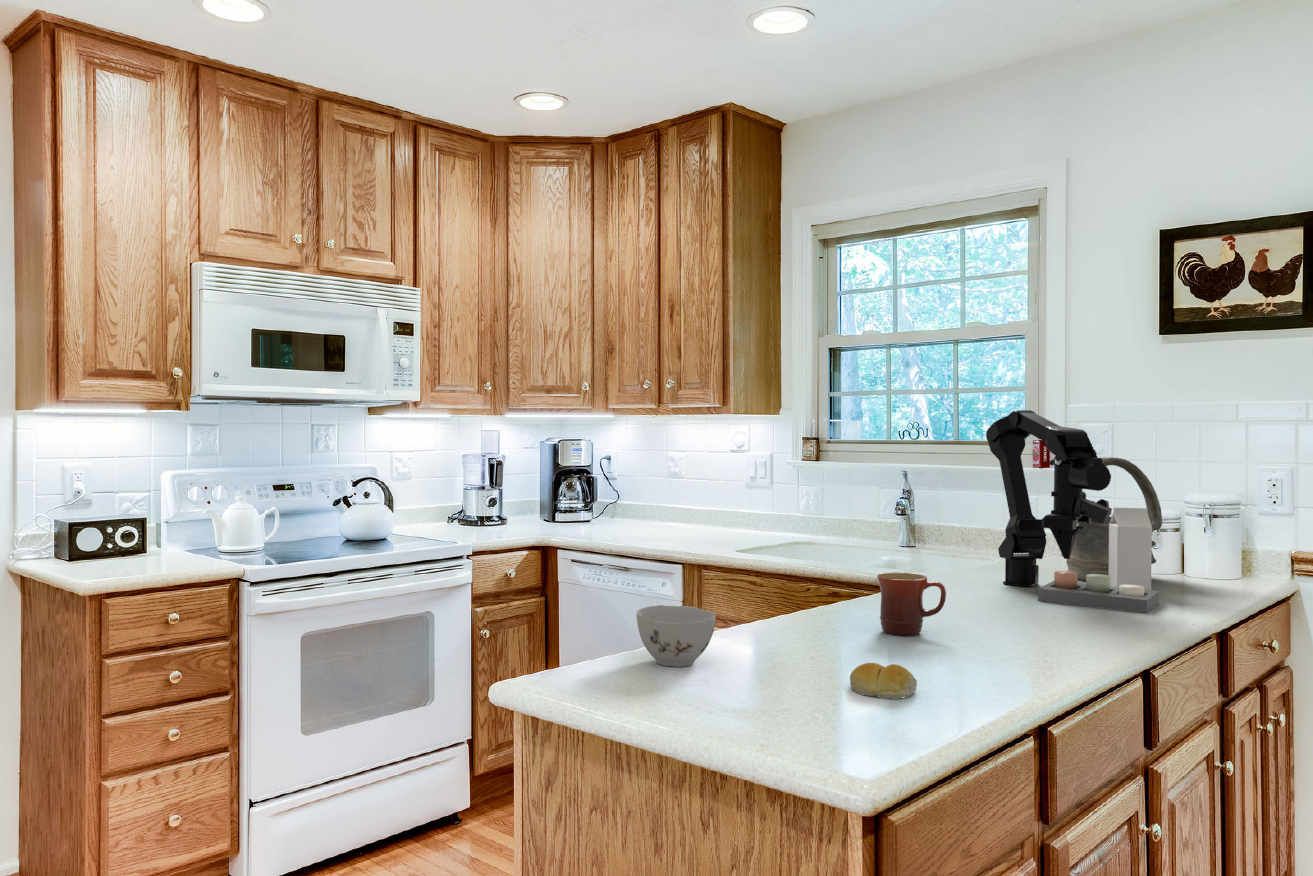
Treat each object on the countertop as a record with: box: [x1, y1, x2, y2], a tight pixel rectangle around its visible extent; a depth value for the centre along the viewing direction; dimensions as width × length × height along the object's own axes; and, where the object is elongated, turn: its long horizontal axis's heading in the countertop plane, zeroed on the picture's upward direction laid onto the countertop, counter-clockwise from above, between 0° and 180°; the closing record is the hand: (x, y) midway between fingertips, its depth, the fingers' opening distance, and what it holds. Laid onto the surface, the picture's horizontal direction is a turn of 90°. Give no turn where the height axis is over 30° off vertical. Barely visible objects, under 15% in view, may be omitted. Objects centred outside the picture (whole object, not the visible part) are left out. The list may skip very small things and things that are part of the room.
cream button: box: [1119, 585, 1144, 597], centre depth 193 cm, size 5×5×3 cm
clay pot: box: [1060, 456, 1163, 582], centre depth 229 cm, size 22×23×30 cm
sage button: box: [1085, 574, 1110, 592], centre depth 197 cm, size 5×5×3 cm
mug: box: [876, 571, 947, 637], centre depth 166 cm, size 12×9×10 cm
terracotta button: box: [1053, 570, 1078, 588], centre depth 201 cm, size 5×5×3 cm
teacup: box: [636, 604, 717, 668], centre depth 146 cm, size 15×12×8 cm
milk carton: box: [1108, 507, 1153, 590], centre depth 210 cm, size 7×7×19 cm
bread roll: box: [849, 662, 918, 699], centre depth 130 cm, size 8×9×4 cm
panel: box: [1037, 580, 1160, 614], centre depth 197 cm, size 21×13×3 cm, turn 52°
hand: (1066, 558), depth 201 cm, fingers closed
